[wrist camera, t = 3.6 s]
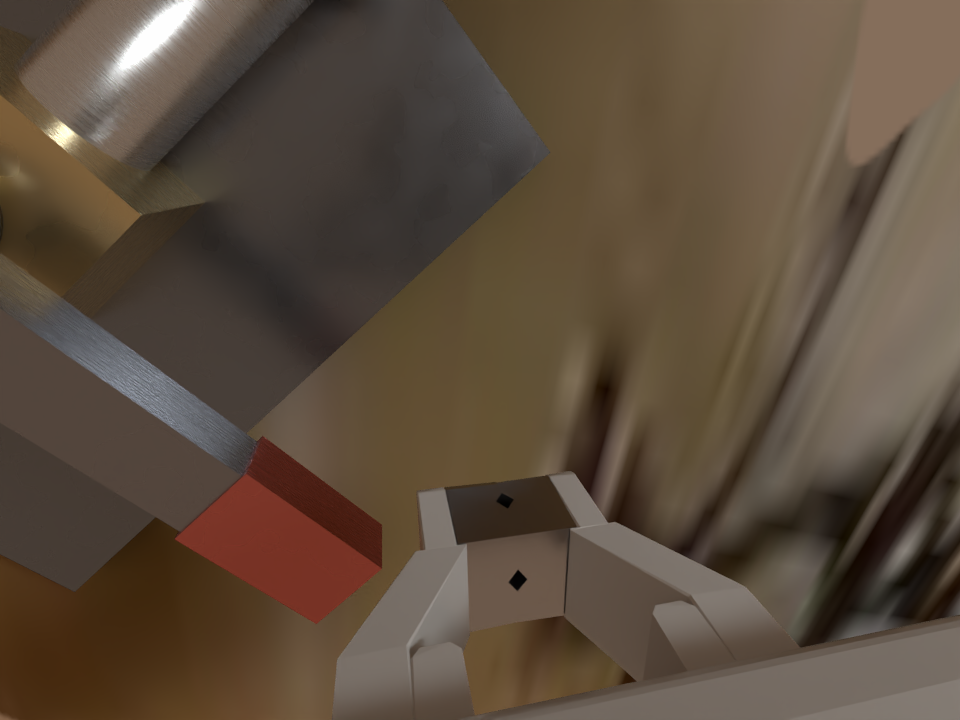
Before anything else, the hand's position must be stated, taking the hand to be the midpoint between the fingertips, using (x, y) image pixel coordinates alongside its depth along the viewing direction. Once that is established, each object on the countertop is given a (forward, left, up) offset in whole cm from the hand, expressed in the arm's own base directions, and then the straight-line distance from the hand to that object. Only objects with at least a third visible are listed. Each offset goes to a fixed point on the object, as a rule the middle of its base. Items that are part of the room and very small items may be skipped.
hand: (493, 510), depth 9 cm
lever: (+7, -6, -8) cm, 12 cm away
